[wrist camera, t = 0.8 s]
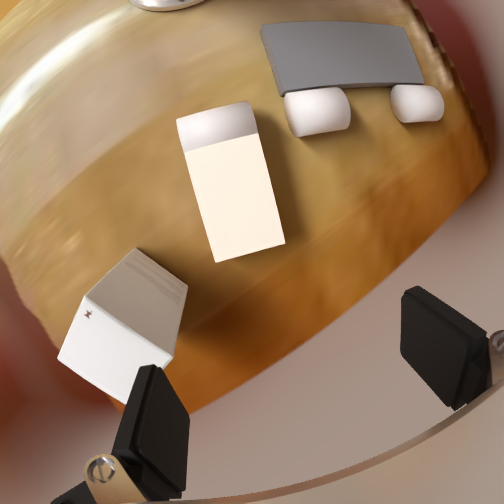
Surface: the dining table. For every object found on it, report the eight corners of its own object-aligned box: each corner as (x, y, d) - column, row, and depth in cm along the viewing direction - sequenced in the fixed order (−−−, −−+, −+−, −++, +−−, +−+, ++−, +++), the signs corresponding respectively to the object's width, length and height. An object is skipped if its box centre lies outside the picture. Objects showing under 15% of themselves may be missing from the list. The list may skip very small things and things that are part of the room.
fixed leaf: (259, 33, 23) (266, 13, 19) (395, 32, 23) (413, 20, 19) (292, 139, 26) (304, 133, 22) (425, 122, 27) (448, 119, 23)
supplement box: (104, 295, 29) (53, 358, 16) (135, 245, 28) (83, 292, 15) (156, 332, 30) (129, 410, 18) (191, 286, 29) (175, 358, 17)
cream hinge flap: (180, 123, 25) (173, 114, 21) (244, 107, 25) (248, 95, 21) (216, 251, 29) (215, 264, 24) (276, 234, 29) (286, 244, 25)
